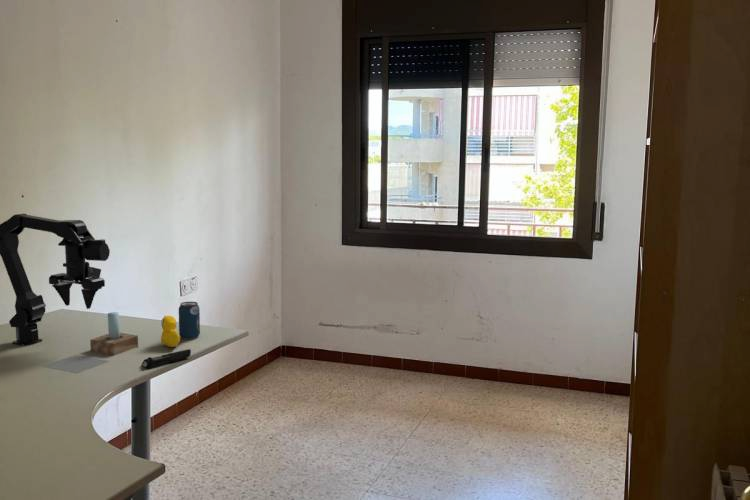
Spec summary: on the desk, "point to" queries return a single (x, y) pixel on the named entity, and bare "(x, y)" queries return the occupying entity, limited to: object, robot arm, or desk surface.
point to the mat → (75, 363)
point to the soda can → (189, 320)
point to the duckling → (169, 332)
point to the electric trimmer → (165, 358)
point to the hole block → (114, 344)
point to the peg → (113, 325)
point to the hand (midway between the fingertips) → (78, 307)
